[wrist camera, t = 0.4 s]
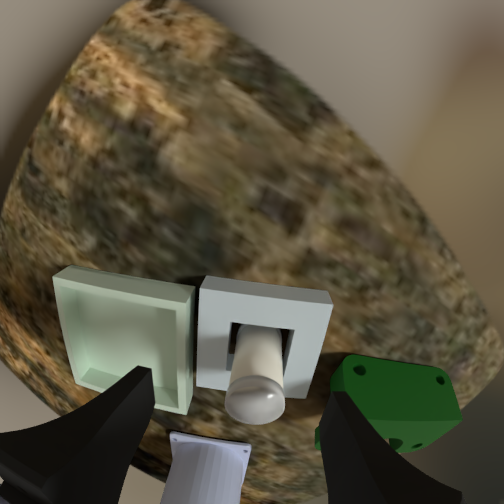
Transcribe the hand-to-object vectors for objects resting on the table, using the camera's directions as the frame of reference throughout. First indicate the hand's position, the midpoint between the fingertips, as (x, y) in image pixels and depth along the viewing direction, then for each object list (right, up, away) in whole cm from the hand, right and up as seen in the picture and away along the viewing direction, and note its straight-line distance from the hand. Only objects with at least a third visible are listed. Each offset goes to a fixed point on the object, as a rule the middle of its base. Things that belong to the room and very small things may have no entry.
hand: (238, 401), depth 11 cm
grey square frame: (+1, 0, +10) cm, 10 cm away
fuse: (+1, 0, +10) cm, 10 cm away
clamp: (+11, -6, +11) cm, 17 cm away
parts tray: (-9, -1, +11) cm, 14 cm away
